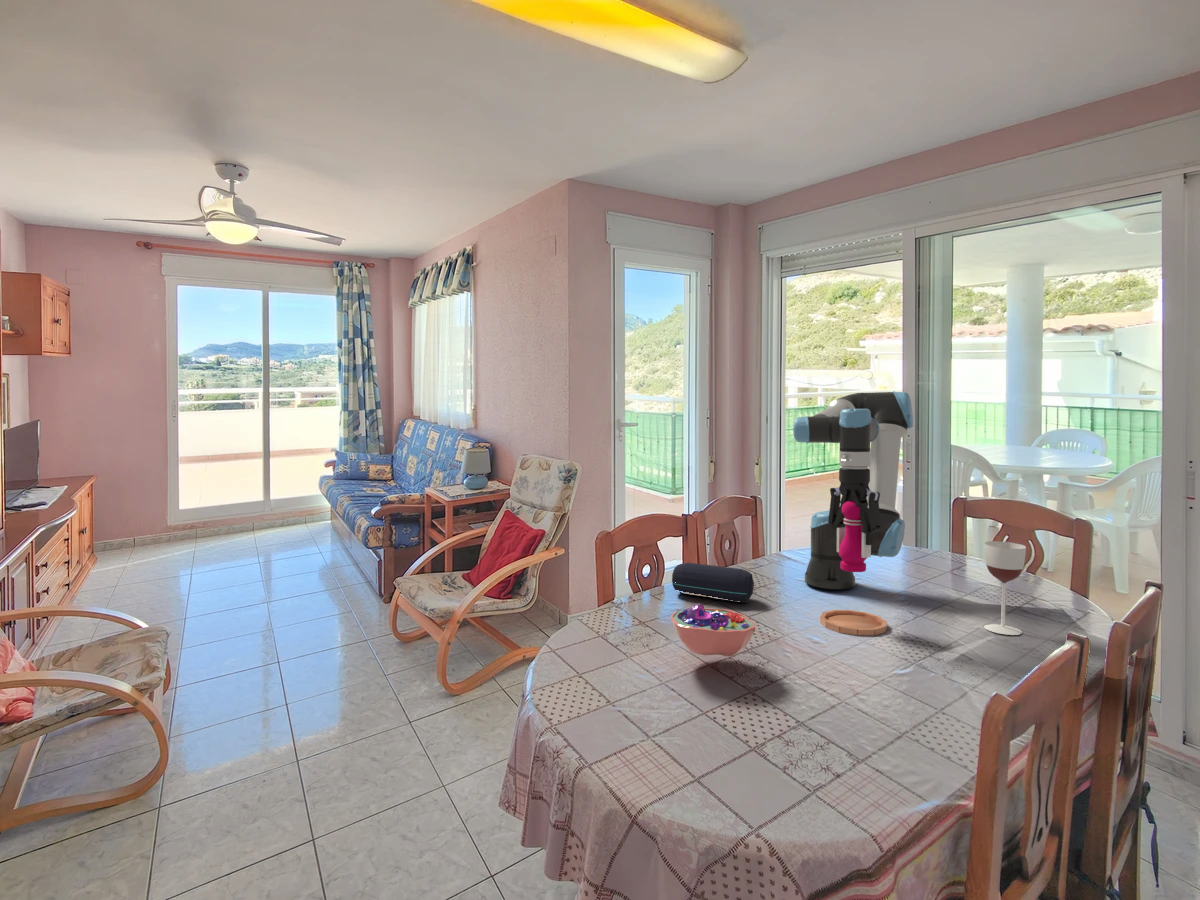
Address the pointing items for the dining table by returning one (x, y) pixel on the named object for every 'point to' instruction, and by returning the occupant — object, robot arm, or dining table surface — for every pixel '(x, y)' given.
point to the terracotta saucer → (853, 622)
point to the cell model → (712, 630)
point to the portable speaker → (713, 581)
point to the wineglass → (1004, 574)
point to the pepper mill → (852, 539)
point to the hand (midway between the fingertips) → (853, 554)
